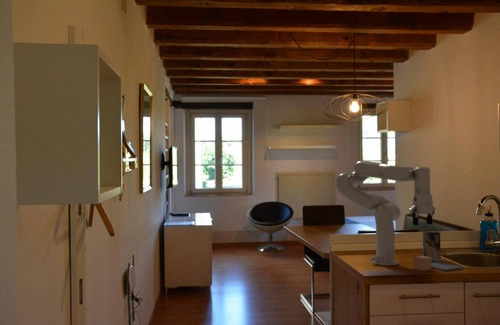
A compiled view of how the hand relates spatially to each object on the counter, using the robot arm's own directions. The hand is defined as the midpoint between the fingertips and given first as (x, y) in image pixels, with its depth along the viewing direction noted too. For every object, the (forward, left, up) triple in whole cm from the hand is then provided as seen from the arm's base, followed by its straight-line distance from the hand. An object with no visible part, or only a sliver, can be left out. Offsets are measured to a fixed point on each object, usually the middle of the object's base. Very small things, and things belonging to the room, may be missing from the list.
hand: (422, 224), depth 224 cm
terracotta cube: (0, 0, -23) cm, 23 cm away
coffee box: (+21, +13, -23) cm, 34 cm away
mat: (+12, -2, -23) cm, 26 cm away
